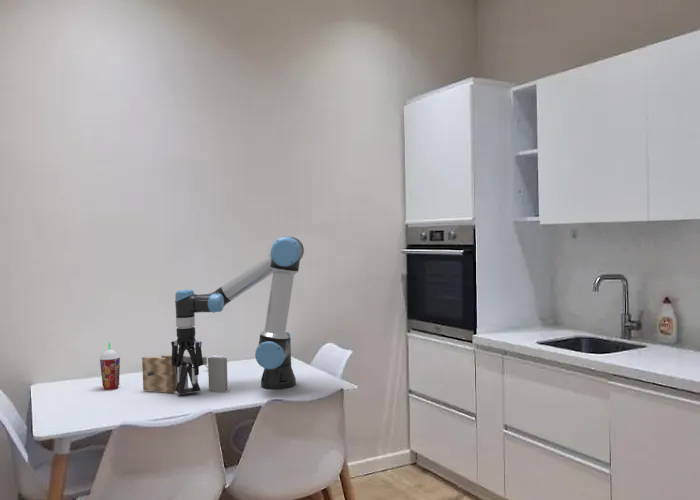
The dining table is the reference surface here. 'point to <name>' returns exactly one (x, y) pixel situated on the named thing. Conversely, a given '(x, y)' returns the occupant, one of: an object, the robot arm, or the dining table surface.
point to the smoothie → (110, 369)
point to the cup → (215, 356)
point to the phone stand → (182, 380)
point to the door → (159, 374)
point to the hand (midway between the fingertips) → (187, 382)
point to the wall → (211, 372)
